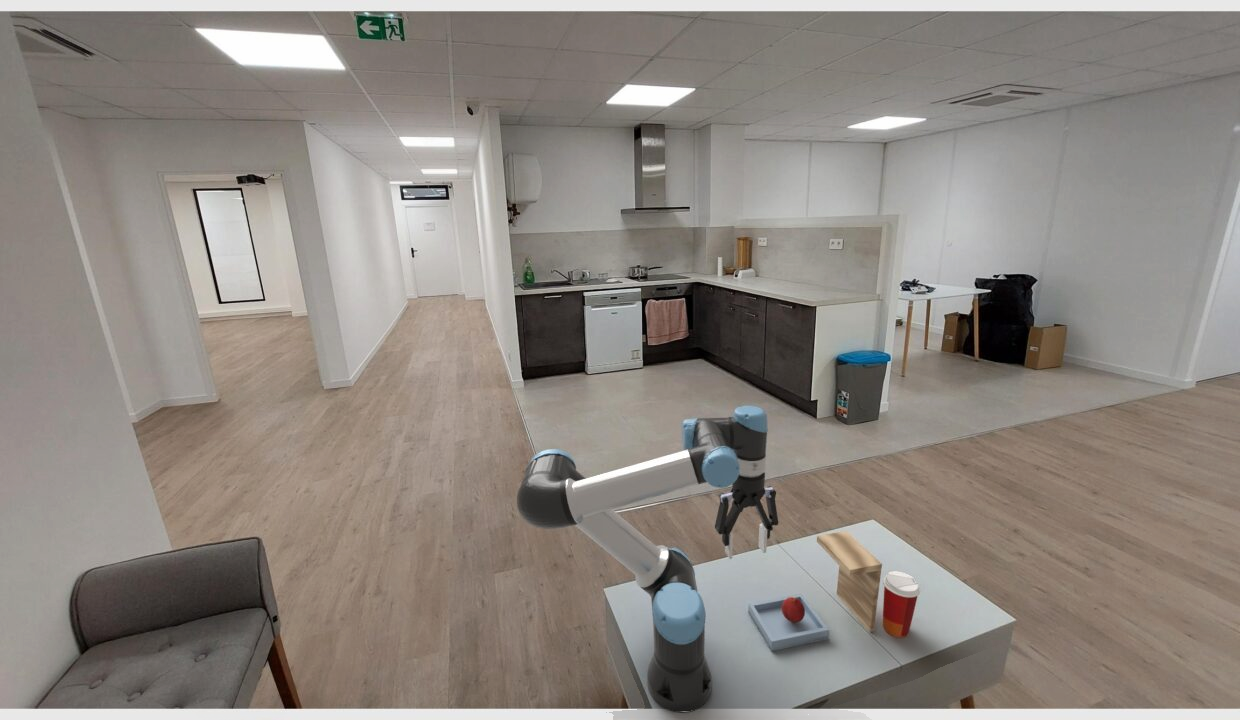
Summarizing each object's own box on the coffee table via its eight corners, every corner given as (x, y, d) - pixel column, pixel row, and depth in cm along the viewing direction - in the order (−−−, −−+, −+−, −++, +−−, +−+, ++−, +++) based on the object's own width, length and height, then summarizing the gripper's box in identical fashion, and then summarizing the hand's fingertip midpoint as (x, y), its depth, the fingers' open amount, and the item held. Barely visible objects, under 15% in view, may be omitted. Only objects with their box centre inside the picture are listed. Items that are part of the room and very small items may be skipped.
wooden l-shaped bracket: (842, 637, 125) (849, 569, 120) (812, 598, 139) (817, 536, 133) (873, 631, 127) (882, 564, 121) (840, 593, 140) (846, 531, 135)
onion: (785, 609, 134) (787, 585, 132) (807, 619, 130) (809, 594, 128) (777, 623, 129) (779, 598, 127) (799, 633, 126) (801, 608, 124)
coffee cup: (904, 617, 131) (911, 570, 127) (919, 642, 123) (927, 593, 119) (872, 615, 132) (877, 569, 128) (885, 640, 124) (891, 592, 120)
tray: (771, 651, 122) (771, 641, 122) (748, 612, 135) (748, 603, 134) (828, 639, 125) (829, 629, 124) (800, 602, 137) (801, 593, 137)
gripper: (712, 484, 109) (711, 569, 115) (797, 472, 113) (792, 555, 119) (700, 468, 117) (700, 549, 123) (781, 457, 120) (777, 536, 126)
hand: (745, 552), depth 121 cm, fingers open, 8 cm apart
